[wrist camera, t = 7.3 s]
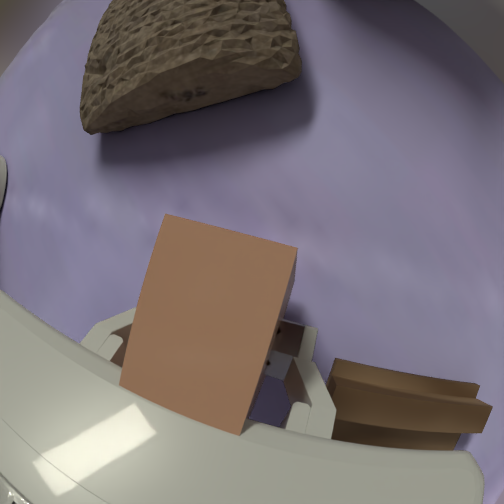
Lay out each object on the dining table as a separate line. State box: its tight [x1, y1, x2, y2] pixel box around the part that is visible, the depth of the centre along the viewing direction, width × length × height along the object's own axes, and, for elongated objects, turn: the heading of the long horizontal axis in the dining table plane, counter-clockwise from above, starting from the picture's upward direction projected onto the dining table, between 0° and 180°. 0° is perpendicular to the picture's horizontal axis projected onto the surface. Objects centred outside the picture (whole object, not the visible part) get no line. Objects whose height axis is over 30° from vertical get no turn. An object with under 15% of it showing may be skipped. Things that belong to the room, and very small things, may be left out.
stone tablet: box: [80, 0, 302, 135], centre depth 22 cm, size 20×8×30 cm
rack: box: [326, 358, 492, 451], centre depth 14 cm, size 14×12×3 cm
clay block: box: [119, 214, 298, 436], centre depth 12 cm, size 6×4×11 cm, turn 163°
